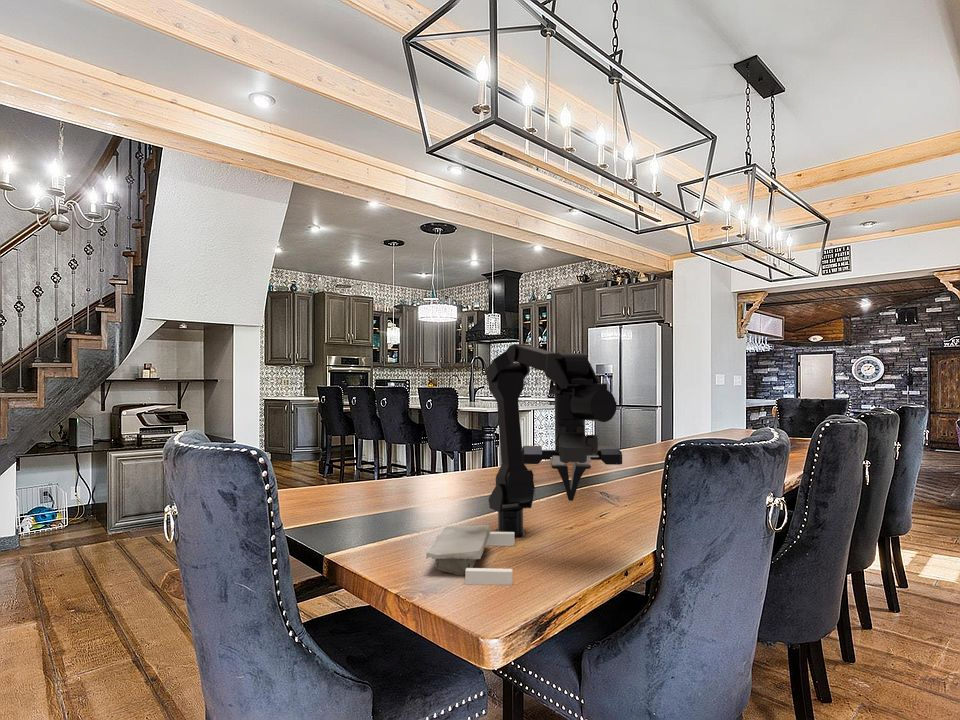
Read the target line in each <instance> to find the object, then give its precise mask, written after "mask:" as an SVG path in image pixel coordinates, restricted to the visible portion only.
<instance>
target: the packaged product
mask: <svg viewBox="0 0 960 720" xmlns="http://www.w3.org/2000/svg"><path fill="white" fill-rule="evenodd" d="M490 532H492V531H491V526H490V524H484V525H483V524H482V525H481V524H479V525H457V526H445V527H444V528H443V530H442V531H441V532H440V533H439V534H437V536H436V539H435V541H434V543H433V544H432V545H431V547H430V549H429V550H428V551H427V552H426V553H425V554H426V556H425V558H426V559H429V558H431V559H432V560H434V559H435V562H434V565H435V568H436V569H437V570H438V571H441V572H446V573H450V574H455V575H457V576H458V575H461V576H464V575H465V571H466V568H474V566H475V564H476V561H477V560H481V558H482V556H483V553H484V551H485V547H486V546H485V545H486V543H487V540H488V537H489V535H490Z"/></svg>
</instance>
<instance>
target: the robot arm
mask: <svg viewBox="0 0 960 720" xmlns="http://www.w3.org/2000/svg"><path fill="white" fill-rule="evenodd" d="M530 368H532V369H533V368H534V369H537V370H540V371H542V372H544V374H545V377H546V378H547V379H549V380H551V381H552V382H553V383H554V384H553V386H552V387H551V388H550V389H549V390H548V394H549V395H554V449H542V445H524V446H523V443H522V442H523V441H522V431H521V430H522V429H521V418H520V416H521V415H520V407H519V398H520V396H521V395H522V392H523V391H524V387H525V379H526V378H527V376H528V374H529V373H530V372H531V369H530ZM485 373H486V374H485V377H486V380H487V383H488V384H487V385H488V390H489V392H490V394H491V395H492V396H493V398H494V399H495V401H496V405H497V406H496V407H497V417H498V419H497V420H498V432H499V442H500V444H499V445H500V458H501V459H500V460H501V465H500V468H499V469H498V472H497V474H496V475H495V487H494V489H493V490H492V492H491V494H490V496H489V497H488V506H489V509H492V510H493V511H495V512H497V529H496V532H514V538H517V539H518V538H523V539H524V538H526V529H525V528H524V510H525V509H532V506H533V501H534V496H535V491H536V490H535V489H536V487H535V483H534V472H533V470H531V469H529V468H528V467H527V466H526V465H539V464H540V463H541V462H542V461H543V460H550V467H551V468H552V469H555V470H557V472H558V473H559V476H560V478H561V480H562V483H563V486H564V490H565V493H566V496H567V499H568V501H569V502H573V501H574V499H575V496H576V494H577V493H576V492H577V490H578V486H579V484H580V480H581V478H582V476H583V475H584V473H585V471H586V470H590V469H591V468H592V465H591V463H590V462H592V461H602V463H603V464H605V465H610V466H611V465H612V466H613V465H614V466H616V465H618V466H619V465H623V452H622V450H620V449H619V448H618V447H617V446H615V445H599V442H598V441H599V439H598V436H597V434H586V421H589V422H600V423H607V422H609V421H610V420H612V419H613V418H614V416H615V414H616V413H617V405H618V404H617V401H616V398H615V397H614V394H613V393H612V392H611V391H609V390H608V384H607V383H603V382H602V383H601V382H600V380H599V377H598V376H597V374H596V373H595V371H594V368H593V366H592V365H591V363H590V360H589V357H588V355H586V354H585V353H581V352H579V353H578V352H554V351H549V350H546V349H543V348H540V347H535V346H532V345H530V344H528V343H527V344H526V343H525V344H524V343H521V344H519V343H512V344H511V345H509V346H508V347H507V349H506V350H505V351H503V352H502V353H501V354H499V355H498V356H496V357H494V358H493V359H492V361H491V363H490V364H489V366H488V367H487V370H486V372H485ZM569 463H572V466H571V467H572V468H571V469H572V470H571V479H570V477H569V466H568V464H569Z"/></svg>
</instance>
